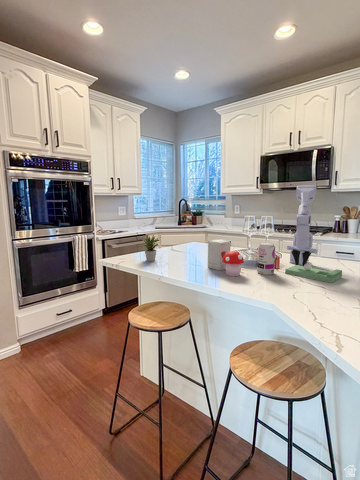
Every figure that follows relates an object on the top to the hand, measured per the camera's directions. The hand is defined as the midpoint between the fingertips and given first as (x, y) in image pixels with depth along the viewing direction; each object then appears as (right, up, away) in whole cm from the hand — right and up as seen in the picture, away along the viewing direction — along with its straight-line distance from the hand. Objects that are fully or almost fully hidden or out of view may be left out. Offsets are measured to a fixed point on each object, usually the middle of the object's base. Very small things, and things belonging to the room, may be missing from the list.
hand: (300, 265), depth 138 cm
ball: (+2, 0, -2) cm, 3 cm away
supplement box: (-40, -3, +12) cm, 41 cm away
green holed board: (+4, -4, -4) cm, 7 cm away
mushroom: (-35, -5, -1) cm, 35 cm away
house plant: (-78, 0, +29) cm, 84 cm away
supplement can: (-18, -4, +1) cm, 18 cm away
